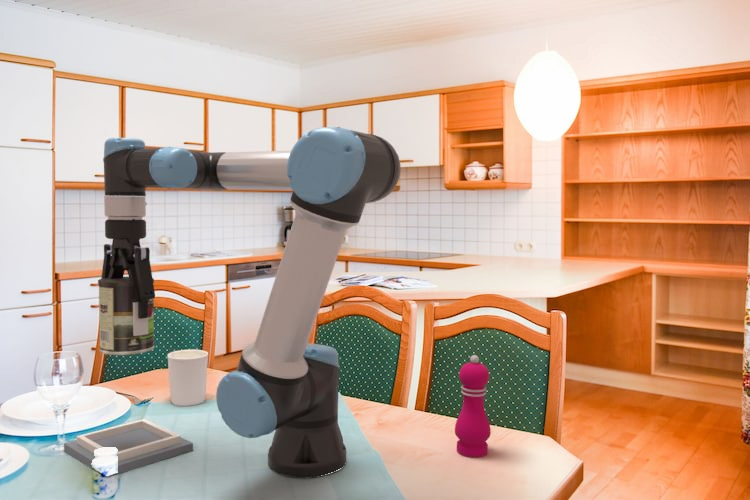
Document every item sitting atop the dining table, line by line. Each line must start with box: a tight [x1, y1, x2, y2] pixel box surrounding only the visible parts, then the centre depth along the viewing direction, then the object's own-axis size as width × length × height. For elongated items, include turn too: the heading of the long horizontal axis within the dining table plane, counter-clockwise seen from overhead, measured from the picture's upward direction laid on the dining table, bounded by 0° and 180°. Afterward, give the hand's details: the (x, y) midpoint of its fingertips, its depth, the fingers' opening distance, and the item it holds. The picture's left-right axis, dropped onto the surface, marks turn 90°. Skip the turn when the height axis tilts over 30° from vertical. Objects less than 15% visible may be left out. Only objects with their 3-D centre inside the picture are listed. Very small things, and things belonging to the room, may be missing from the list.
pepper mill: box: [454, 354, 492, 458], centre depth 132 cm, size 7×7×20 cm
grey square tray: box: [63, 418, 194, 475], centre depth 131 cm, size 18×18×3 cm
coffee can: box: [97, 276, 155, 356], centre depth 129 cm, size 10×10×14 cm
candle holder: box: [166, 349, 209, 407], centre depth 163 cm, size 10×10×12 cm
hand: (127, 330), depth 129 cm, fingers closed on coffee can, 10 cm apart
